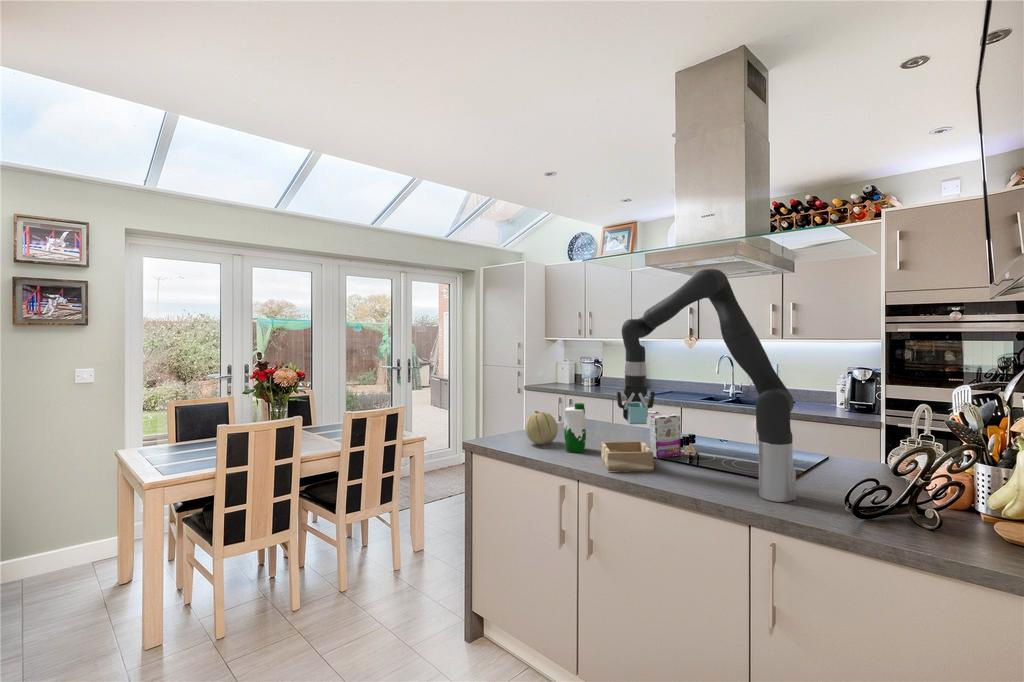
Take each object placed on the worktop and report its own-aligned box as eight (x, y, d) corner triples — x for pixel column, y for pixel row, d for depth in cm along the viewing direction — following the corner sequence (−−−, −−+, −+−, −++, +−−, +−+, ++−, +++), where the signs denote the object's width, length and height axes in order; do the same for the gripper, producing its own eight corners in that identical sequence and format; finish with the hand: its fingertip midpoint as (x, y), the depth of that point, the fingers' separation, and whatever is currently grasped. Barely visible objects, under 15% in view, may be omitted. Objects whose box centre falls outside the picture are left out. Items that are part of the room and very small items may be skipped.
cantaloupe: (551, 449, 223) (550, 415, 223) (520, 446, 230) (519, 413, 229) (562, 441, 237) (562, 409, 236) (533, 439, 243) (532, 408, 242)
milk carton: (585, 453, 215) (584, 405, 215) (563, 452, 217) (562, 405, 217) (586, 448, 224) (585, 402, 223) (566, 447, 226) (564, 402, 225)
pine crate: (601, 459, 205) (600, 442, 205) (642, 458, 205) (642, 441, 204) (608, 472, 188) (607, 453, 187) (653, 471, 187) (653, 452, 187)
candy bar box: (674, 453, 212) (673, 413, 211) (681, 456, 207) (680, 415, 206) (649, 455, 209) (649, 415, 208) (656, 458, 204) (655, 417, 203)
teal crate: (624, 418, 194) (624, 402, 194) (640, 418, 194) (640, 402, 194) (629, 424, 184) (630, 407, 184) (646, 424, 184) (646, 407, 184)
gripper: (617, 375, 185) (617, 421, 186) (657, 374, 184) (657, 421, 185) (613, 372, 192) (613, 417, 193) (652, 372, 192) (652, 417, 193)
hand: (635, 419), depth 189 cm, fingers closed on teal crate, 6 cm apart
